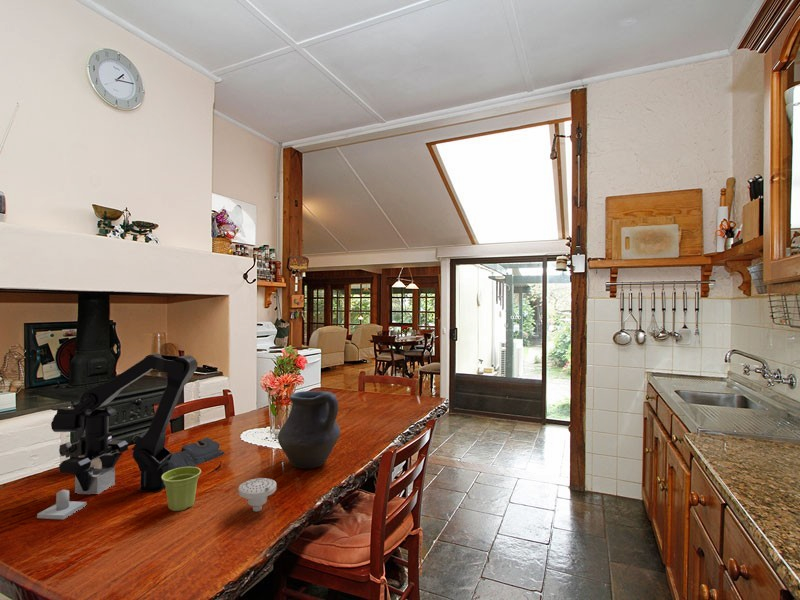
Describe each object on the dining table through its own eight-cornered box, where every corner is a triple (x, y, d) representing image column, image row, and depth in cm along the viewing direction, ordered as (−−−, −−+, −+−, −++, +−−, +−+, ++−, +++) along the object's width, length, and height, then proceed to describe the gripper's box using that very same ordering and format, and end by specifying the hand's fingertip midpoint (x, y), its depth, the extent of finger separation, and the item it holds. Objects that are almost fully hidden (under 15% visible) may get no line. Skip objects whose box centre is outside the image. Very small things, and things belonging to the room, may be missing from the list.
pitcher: (308, 448, 157) (309, 381, 157) (355, 460, 146) (356, 388, 146) (264, 467, 139) (265, 391, 139) (314, 482, 128) (315, 399, 128)
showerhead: (252, 493, 104) (231, 482, 110) (252, 523, 104) (231, 510, 110) (285, 481, 111) (263, 471, 118) (284, 509, 111) (263, 497, 118)
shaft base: (86, 505, 112) (86, 484, 112) (63, 519, 105) (63, 496, 105) (61, 504, 112) (61, 483, 112) (37, 518, 105) (37, 495, 105)
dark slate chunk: (143, 468, 138) (143, 453, 138) (199, 447, 158) (199, 434, 158) (176, 476, 132) (176, 461, 132) (230, 453, 152) (230, 440, 152)
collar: (114, 484, 124) (115, 467, 124) (97, 494, 118) (97, 476, 118) (93, 483, 125) (93, 466, 125) (74, 493, 118) (75, 475, 118)
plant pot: (156, 517, 106) (157, 482, 106) (165, 500, 115) (166, 468, 116) (197, 512, 109) (197, 478, 109) (203, 496, 118) (203, 464, 118)
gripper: (95, 421, 131) (94, 471, 131) (40, 440, 113) (39, 499, 113) (129, 422, 131) (128, 472, 131) (79, 442, 112) (78, 501, 112)
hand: (95, 485), depth 121 cm, fingers open, 7 cm apart
